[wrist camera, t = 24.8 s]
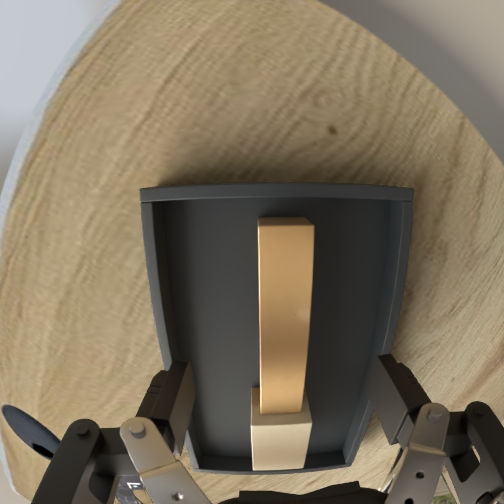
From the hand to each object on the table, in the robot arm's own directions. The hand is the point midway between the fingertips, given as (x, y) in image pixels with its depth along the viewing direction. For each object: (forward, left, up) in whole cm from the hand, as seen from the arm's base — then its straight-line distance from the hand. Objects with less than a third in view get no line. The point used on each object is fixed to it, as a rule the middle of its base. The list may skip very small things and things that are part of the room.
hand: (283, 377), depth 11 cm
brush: (+2, 0, -4) cm, 4 cm away
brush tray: (+2, 0, -4) cm, 5 cm away
